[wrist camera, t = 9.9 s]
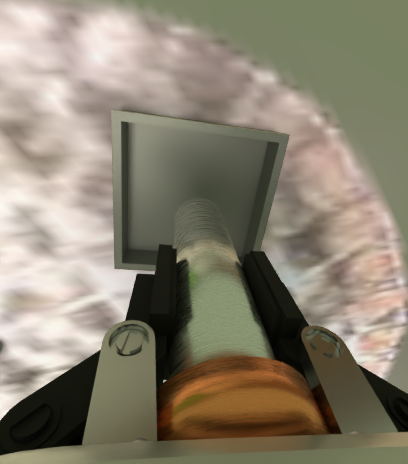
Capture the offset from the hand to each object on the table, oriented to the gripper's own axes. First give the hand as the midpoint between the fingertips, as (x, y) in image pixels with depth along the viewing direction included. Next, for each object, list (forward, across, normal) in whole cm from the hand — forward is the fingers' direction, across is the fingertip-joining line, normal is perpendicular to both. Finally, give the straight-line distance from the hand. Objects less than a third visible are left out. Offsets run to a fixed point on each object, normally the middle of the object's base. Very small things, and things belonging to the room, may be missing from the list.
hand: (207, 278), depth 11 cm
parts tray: (+13, 0, 0) cm, 13 cm away
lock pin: (+6, 0, 0) cm, 6 cm away
